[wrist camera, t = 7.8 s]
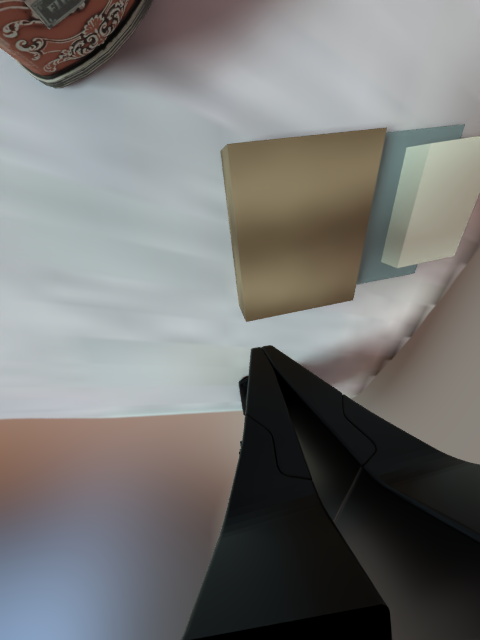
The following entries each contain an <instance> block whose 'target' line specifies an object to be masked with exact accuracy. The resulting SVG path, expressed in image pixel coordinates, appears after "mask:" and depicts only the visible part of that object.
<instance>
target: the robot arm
mask: <svg viewBox="0 0 480 640" xmlns="http://www.w3.org/2000/svg"><path fill="white" fill-rule="evenodd" d="M239 389H240V396H241V402H242V409H243V414H244V415H245V423H244V432H243V440H242V441H241V442H240V443H241V449H240V452H239V460H238V464H237V469H236V473H235V477H234V482H233V486H232V490H231V494H230V498H229V503H228V507H227V511H226V515H225V519H224V522H223V526H222V529H221V532H220V536H219V538H218V541H217V544H216V547H215V550H214V552H213V555H212V558H211V561H210V563H209V566H208V569H207V571H206V574H205V577H204V580H203V583H202V585H201V588H200V590H199V593H198V596H197V599H196V602H195V604H194V607H193V610H192V613H191V615H190V618H189V621H188V623H187V626H186V629H185V632H184V634H183V636H182V639H181V640H480V465H479V464H474V463H470V462H466V461H463V460H460V459H457V458H455V457H452V456H450V455H447V454H445V453H443V452H441V451H439V450H437V449H435V448H433V447H431V446H430V445H428V444H426V443H424V442H422V441H421V440H419V439H417V438H415V437H414V436H412V435H410V434H408V433H407V432H405V431H403V430H401V429H400V428H398V427H396V426H394V425H393V424H391V423H389V422H387V421H385V420H384V419H382V418H380V417H379V416H377V415H375V414H374V413H372V412H370V411H369V410H367V409H366V408H364V407H363V406H361V405H359V404H358V403H356V402H355V401H353V400H352V399H350V398H349V397H347V396H346V395H344V394H343V395H342V393H341V392H340V391H338V390H337V389H335V388H334V387H332V386H331V385H329V384H328V383H326V382H325V381H323V380H322V379H320V378H319V377H318V376H316V375H315V374H313V373H312V372H310V371H309V370H307V369H306V368H304V367H303V366H301V365H300V364H298V363H297V362H295V361H294V360H292V359H291V358H289V357H288V356H286V355H285V354H283V353H282V352H280V351H279V350H278V349H276V348H275V347H273V346H271V345H269V346H263V347H262V348H261V347H258V348H252V349H251V355H250V366H249V378H248V379H244V380H241V381H239Z"/></svg>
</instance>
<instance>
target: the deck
mask: <svg viewBox="0 0 480 640" xmlns="http://www.w3.org/2000/svg"><path fill="white" fill-rule="evenodd" d="M386 130H387V128H379V129H369V130H359V131H350V132H340V133H330V134H321V135H311V136H301V137H292V138H282V139H272V140H263V141H253V142H243V143H234V144H227V145H226V146H225V147H224V148H223V149H222V150H221V158H222V167H223V175H224V183H225V192H226V200H227V208H228V217H229V225H230V233H231V242H232V250H233V258H234V267H235V275H236V283H237V292H238V300H239V306H240V309H241V311H242V313H243V315H244V318H245V320H246V322H248V321H253V320H258V319H262V318H267V317H272V316H277V315H282V314H287V313H292V312H297V311H302V310H307V309H312V308H317V307H322V306H326V305H331V304H336V303H341V302H346V301H351V300H353V298H354V293H355V288H356V282H357V277H358V272H359V267H360V262H361V257H362V252H363V247H364V242H365V237H366V232H367V227H368V221H369V216H370V211H371V206H372V201H373V196H374V191H375V186H376V181H377V176H378V171H379V165H380V160H381V155H382V150H383V145H384V140H385V135H386Z"/></svg>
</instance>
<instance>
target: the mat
mask: <svg viewBox="0 0 480 640" xmlns="http://www.w3.org/2000/svg"><path fill="white" fill-rule="evenodd" d="M464 127H465V124H463V125H454V126H445V127H435V128H426V129H416V130H407V131H398V132H388V133H386V135H385V140H384V145H383V150H382V155H381V160H380V165H379V171H378V176H377V181H376V186H375V191H374V196H373V201H372V206H371V211H370V216H369V221H368V227H367V232H366V237H365V242H364V247H363V252H362V257H361V262H360V267H359V272H358V277H357V282H356V284H361V283H367V282H372V281H377V280H382V279H387V278H392V277H398V276H403V275H408V274H413V273H415V270H416V267H417V264H415V265H410V266H406V267H401V268H395V267H392V266H390V265H387V264H385V263H382V262H381V259H382V255H383V250H384V246H385V241H386V237H387V232H388V228H389V224H390V219H391V215H392V210H393V206H394V201H395V197H396V193H397V188H398V184H399V179H400V175H401V170H402V166H403V161H404V157H405V153H406V148H407V147H412V146H418V145H424V144H430V143H437V142H443V141H450V140H456V139H460V138H461V135H462V132H463V129H464Z"/></svg>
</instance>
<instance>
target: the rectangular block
mask: <svg viewBox="0 0 480 640" xmlns="http://www.w3.org/2000/svg"><path fill="white" fill-rule="evenodd" d="M479 194H480V136H476V137H470V138H463V139H456V140H450V141H443V142H437V143H430V144H424V145H418V146H412V147H407V148H406V153H405V157H404V161H403V166H402V170H401V175H400V179H399V184H398V188H397V193H396V197H395V201H394V206H393V210H392V215H391V219H390V224H389V228H388V232H387V237H386V241H385V246H384V250H383V255H382V259H381V262H382V263H385V264H387V265H390V266H392V267H395V268H401V267H406V266H410V265H415V264H420V263H424V262H429V261H433V260H438V259H443V258H447V257H452V256H455V253H456V251H457V248H458V246H459V243H460V241H461V238H462V236H463V233H464V231H465V228H466V226H467V223H468V221H469V218H470V216H471V213H472V211H473V209H474V206H475V204H476V201H477V199H478V196H479Z"/></svg>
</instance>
